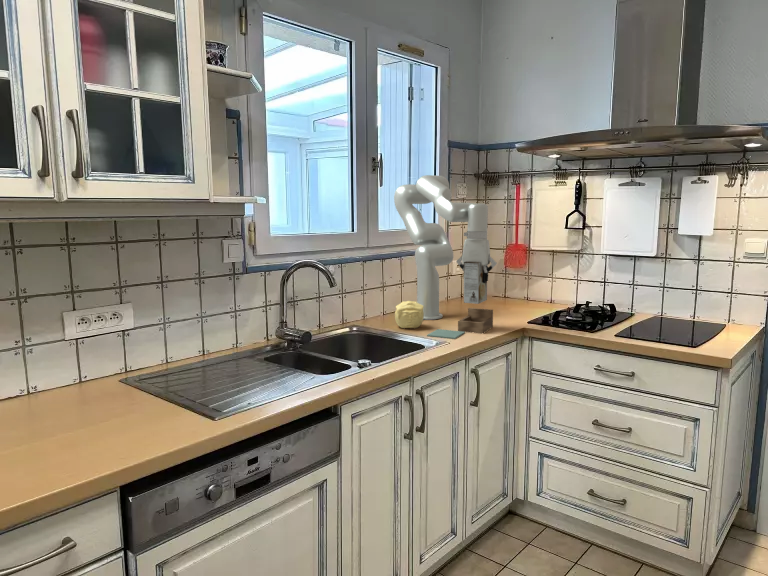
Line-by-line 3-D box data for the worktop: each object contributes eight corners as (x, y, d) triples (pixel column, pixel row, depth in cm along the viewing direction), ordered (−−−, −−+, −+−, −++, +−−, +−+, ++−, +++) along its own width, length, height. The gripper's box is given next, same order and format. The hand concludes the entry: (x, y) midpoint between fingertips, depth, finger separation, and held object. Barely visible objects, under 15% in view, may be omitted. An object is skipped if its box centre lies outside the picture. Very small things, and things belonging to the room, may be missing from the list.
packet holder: (457, 331, 217) (458, 313, 216) (468, 324, 228) (468, 307, 227) (483, 333, 212) (483, 315, 211) (492, 327, 224) (493, 309, 223)
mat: (427, 336, 209) (427, 334, 209) (437, 330, 218) (437, 329, 218) (455, 339, 204) (455, 337, 204) (464, 333, 213) (464, 331, 213)
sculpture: (395, 330, 218) (395, 303, 217) (394, 324, 230) (394, 298, 229) (425, 330, 219) (425, 303, 217) (421, 323, 231) (422, 298, 229)
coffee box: (472, 299, 225) (472, 259, 222) (487, 300, 221) (487, 259, 219) (463, 302, 217) (463, 261, 214) (478, 304, 214) (479, 262, 211)
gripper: (452, 235, 216) (451, 281, 219) (496, 237, 208) (494, 285, 211) (458, 234, 222) (457, 279, 225) (502, 236, 215) (500, 282, 217)
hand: (475, 281), depth 218 cm, fingers closed on coffee box, 6 cm apart
